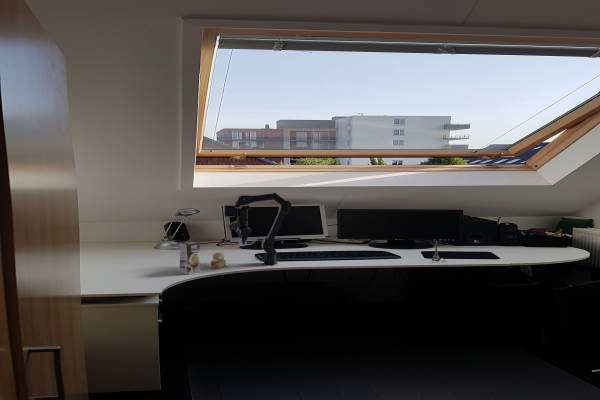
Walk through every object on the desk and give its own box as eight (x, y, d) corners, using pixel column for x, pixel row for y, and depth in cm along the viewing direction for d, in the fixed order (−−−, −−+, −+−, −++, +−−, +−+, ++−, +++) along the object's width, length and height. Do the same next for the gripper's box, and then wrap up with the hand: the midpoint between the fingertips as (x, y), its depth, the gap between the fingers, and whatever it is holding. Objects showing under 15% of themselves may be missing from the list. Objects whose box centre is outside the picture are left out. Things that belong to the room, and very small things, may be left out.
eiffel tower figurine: (430, 263, 262) (431, 241, 261) (420, 260, 272) (421, 239, 271) (451, 262, 267) (452, 240, 266) (441, 258, 277) (441, 238, 275)
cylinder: (247, 245, 254) (247, 238, 253) (243, 246, 250) (243, 239, 249) (241, 244, 255) (241, 237, 255) (237, 245, 251) (237, 238, 251)
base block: (225, 267, 249) (225, 260, 249) (219, 269, 244) (219, 262, 243) (217, 265, 251) (217, 259, 251) (210, 268, 246) (210, 261, 246)
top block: (223, 259, 250) (223, 252, 249) (221, 261, 245) (221, 254, 244) (215, 259, 250) (215, 252, 250) (212, 261, 245) (212, 254, 245)
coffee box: (188, 274, 230) (188, 244, 229) (179, 273, 233) (179, 243, 232) (200, 271, 238) (200, 241, 237) (191, 269, 241) (191, 240, 240)
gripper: (225, 215, 257) (225, 241, 258) (232, 219, 239) (232, 247, 241) (243, 214, 261) (243, 240, 262) (251, 218, 243) (251, 246, 245)
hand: (242, 243), depth 252 cm, fingers closed on cylinder, 4 cm apart
